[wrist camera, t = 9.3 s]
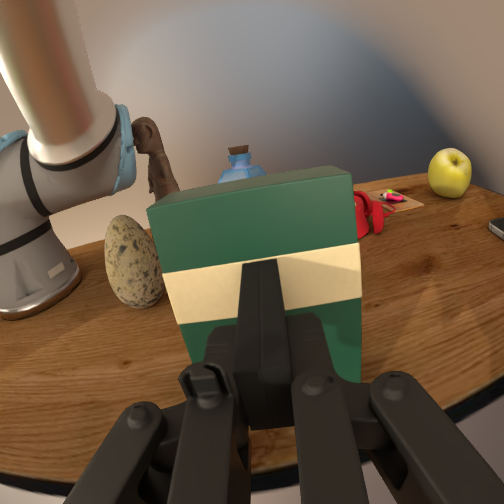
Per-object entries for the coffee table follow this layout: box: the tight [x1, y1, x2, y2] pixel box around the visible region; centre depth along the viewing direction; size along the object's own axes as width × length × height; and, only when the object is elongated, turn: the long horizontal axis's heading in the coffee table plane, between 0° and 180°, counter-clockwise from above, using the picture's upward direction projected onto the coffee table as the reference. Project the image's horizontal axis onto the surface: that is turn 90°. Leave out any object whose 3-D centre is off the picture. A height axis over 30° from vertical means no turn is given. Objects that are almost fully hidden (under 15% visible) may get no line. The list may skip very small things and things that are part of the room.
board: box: [366, 189, 425, 212], centre depth 51 cm, size 6×12×2 cm, turn 8°
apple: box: [428, 148, 471, 198], centre depth 46 cm, size 8×8×10 cm
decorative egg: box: [105, 215, 165, 309], centre depth 31 cm, size 6×6×10 cm
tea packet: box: [146, 166, 362, 383], centre depth 17 cm, size 4×9×13 cm, turn 89°
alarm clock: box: [354, 191, 396, 239], centre depth 42 cm, size 10×6×15 cm
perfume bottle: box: [218, 145, 266, 183], centre depth 50 cm, size 6×6×12 cm
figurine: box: [131, 117, 180, 240], centre depth 47 cm, size 9×8×20 cm
